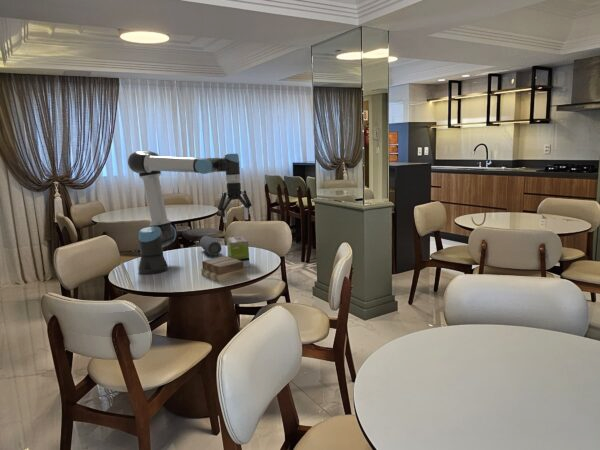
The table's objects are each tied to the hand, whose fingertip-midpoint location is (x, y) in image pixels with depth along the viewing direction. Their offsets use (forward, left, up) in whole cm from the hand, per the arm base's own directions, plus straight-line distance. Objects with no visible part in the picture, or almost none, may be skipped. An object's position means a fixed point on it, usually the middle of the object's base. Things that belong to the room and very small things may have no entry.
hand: (236, 221), depth 238 cm
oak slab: (+12, -17, -25) cm, 33 cm away
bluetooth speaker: (-37, +3, -25) cm, 45 cm away
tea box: (0, 0, -25) cm, 25 cm away
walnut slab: (+12, -17, -21) cm, 30 cm away
